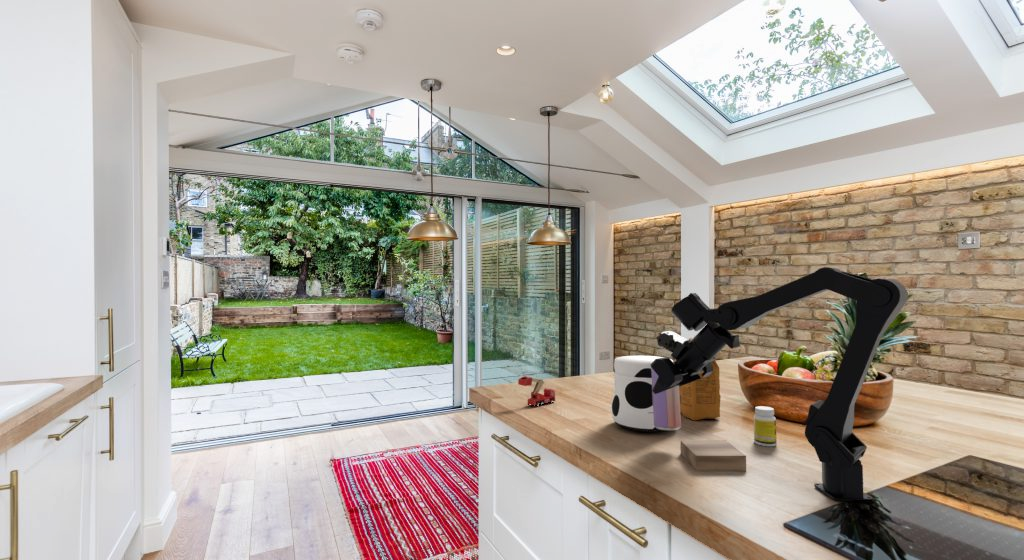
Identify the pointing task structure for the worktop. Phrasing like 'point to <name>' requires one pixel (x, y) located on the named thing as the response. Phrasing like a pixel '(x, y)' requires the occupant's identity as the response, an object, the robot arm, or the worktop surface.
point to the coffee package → (701, 396)
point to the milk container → (633, 393)
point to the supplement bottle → (764, 426)
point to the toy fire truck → (535, 396)
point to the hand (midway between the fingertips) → (660, 390)
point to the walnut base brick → (713, 455)
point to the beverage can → (666, 407)
